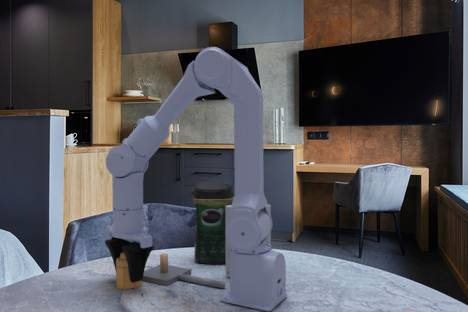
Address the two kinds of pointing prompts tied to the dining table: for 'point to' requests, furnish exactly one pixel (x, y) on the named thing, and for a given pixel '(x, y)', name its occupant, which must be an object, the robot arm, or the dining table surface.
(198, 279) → the gray square paddle
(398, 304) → the dining table surface
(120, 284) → the wire nut
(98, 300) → the dining table surface
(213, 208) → the coffee jar
